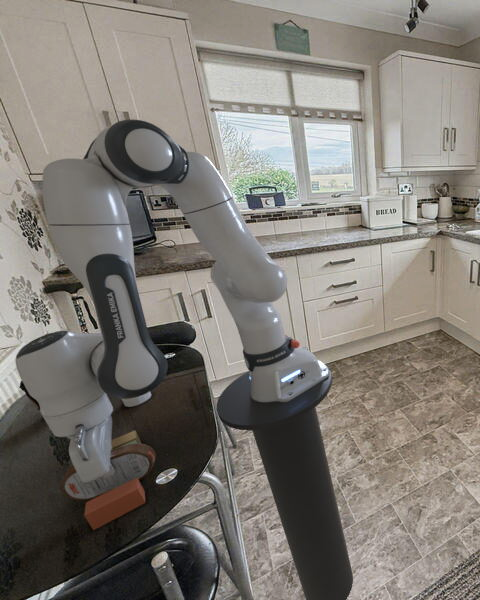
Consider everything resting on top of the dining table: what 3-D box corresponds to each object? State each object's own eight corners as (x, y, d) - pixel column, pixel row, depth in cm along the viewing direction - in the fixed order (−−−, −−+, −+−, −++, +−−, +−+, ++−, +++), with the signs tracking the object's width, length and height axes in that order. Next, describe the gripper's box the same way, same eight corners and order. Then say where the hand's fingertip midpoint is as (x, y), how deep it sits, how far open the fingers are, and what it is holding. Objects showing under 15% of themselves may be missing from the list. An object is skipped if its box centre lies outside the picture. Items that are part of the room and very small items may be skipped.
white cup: (115, 406, 97) (102, 378, 94) (142, 390, 104) (130, 363, 100) (133, 410, 95) (120, 381, 91) (159, 393, 101) (148, 365, 98)
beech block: (141, 442, 82) (135, 430, 80) (141, 450, 79) (135, 437, 78) (100, 460, 77) (92, 447, 76) (99, 469, 74) (91, 456, 73)
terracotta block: (144, 491, 68) (137, 477, 66) (145, 502, 65) (138, 488, 64) (94, 517, 63) (85, 502, 62) (93, 530, 61) (84, 515, 59)
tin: (161, 465, 73) (148, 435, 71) (159, 475, 71) (145, 444, 68) (75, 498, 67) (57, 466, 65) (69, 510, 64) (50, 477, 62)
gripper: (99, 433, 57) (129, 491, 61) (104, 384, 72) (128, 433, 77) (48, 453, 53) (85, 513, 58) (65, 397, 68) (93, 448, 73)
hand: (110, 467), depth 67 cm, fingers closed on tin, 3 cm apart
